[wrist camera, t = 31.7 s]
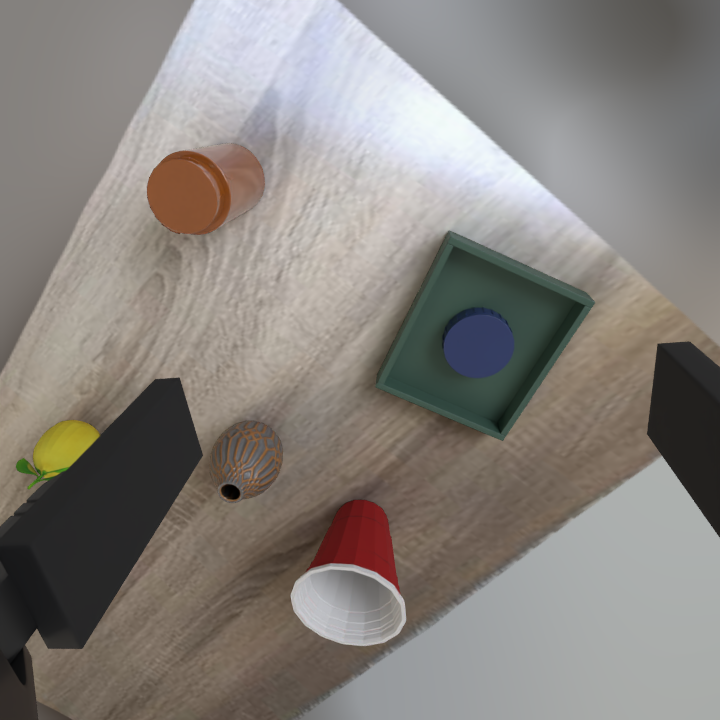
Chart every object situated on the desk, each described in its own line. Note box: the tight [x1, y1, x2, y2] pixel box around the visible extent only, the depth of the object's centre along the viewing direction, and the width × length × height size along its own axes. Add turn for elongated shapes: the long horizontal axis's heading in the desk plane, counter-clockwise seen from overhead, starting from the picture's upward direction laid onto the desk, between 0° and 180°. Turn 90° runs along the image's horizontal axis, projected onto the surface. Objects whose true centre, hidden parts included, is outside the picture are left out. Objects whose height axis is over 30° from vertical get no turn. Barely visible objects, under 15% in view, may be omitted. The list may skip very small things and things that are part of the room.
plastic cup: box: [291, 500, 406, 646], centre depth 54 cm, size 11×11×12 cm
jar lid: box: [442, 307, 514, 378], centre depth 47 cm, size 6×6×2 cm
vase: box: [210, 421, 283, 503], centre depth 52 cm, size 7×7×9 cm
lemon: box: [16, 420, 100, 489], centre depth 53 cm, size 7×6×10 cm
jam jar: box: [147, 143, 265, 235], centre depth 40 cm, size 6×6×11 cm
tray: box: [375, 231, 595, 441], centre depth 47 cm, size 15×13×2 cm
